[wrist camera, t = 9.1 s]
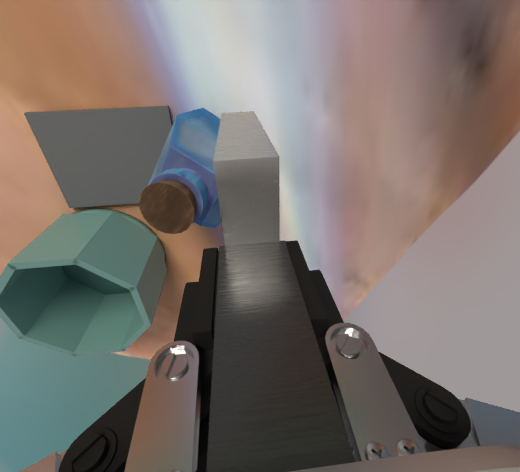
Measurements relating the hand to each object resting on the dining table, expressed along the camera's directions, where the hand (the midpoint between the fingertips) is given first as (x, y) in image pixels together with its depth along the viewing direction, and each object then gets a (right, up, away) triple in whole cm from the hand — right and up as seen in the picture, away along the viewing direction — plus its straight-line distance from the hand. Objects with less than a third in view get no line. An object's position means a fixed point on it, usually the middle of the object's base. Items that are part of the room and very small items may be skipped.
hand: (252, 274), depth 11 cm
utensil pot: (-17, -1, +20) cm, 27 cm away
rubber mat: (-14, +9, +14) cm, 22 cm away
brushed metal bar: (-1, +6, +8) cm, 10 cm away
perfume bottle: (-4, +9, +14) cm, 17 cm away
